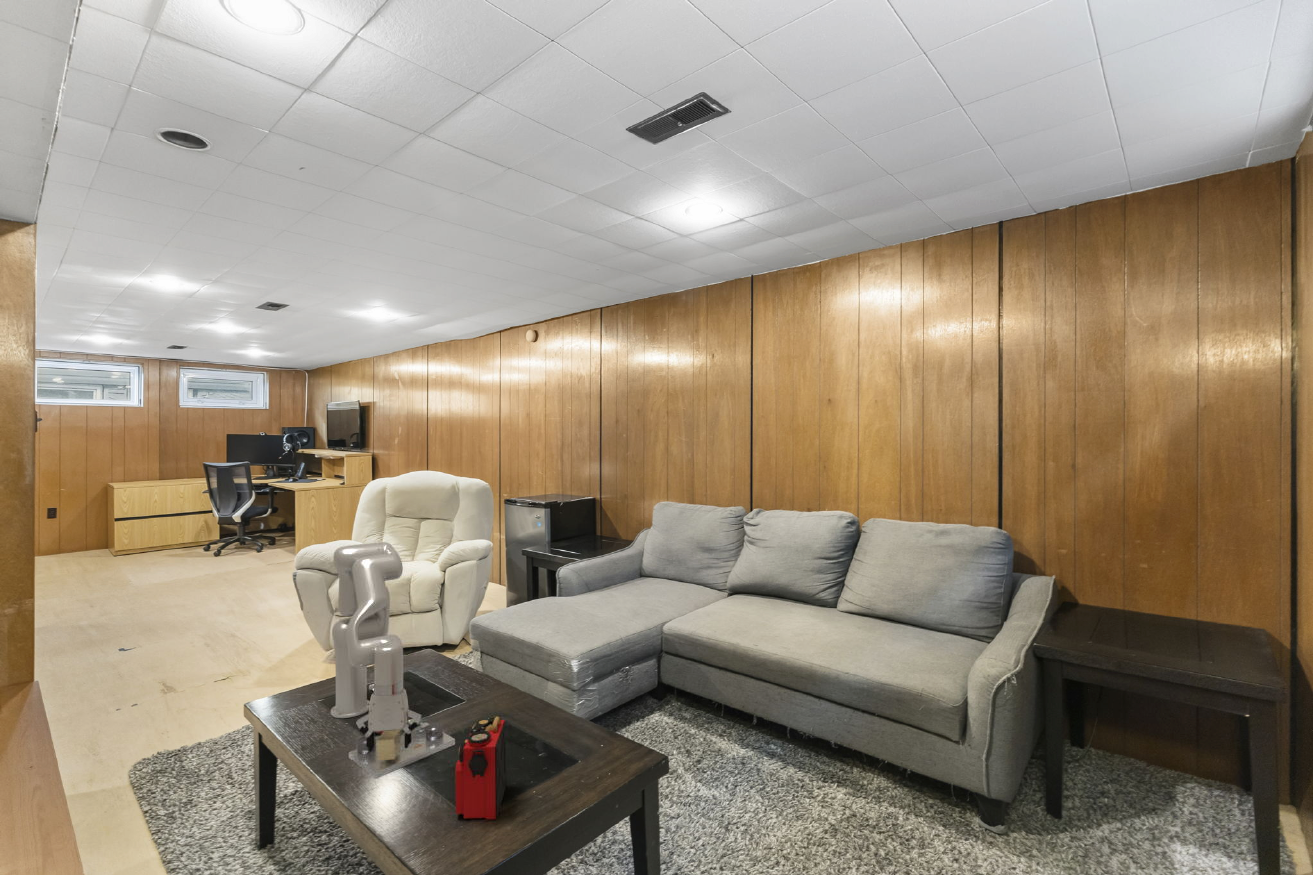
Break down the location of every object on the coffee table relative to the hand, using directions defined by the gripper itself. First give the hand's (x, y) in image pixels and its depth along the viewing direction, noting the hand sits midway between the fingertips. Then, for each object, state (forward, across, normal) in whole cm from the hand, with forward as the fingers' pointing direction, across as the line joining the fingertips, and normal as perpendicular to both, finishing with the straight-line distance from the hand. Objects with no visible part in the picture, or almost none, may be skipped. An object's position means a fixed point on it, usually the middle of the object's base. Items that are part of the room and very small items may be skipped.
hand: (389, 747), depth 173 cm
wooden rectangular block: (+3, 0, +2) cm, 3 cm away
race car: (+5, -5, +24) cm, 26 cm away
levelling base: (+5, +2, +7) cm, 9 cm away
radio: (+5, +28, -24) cm, 38 cm away
